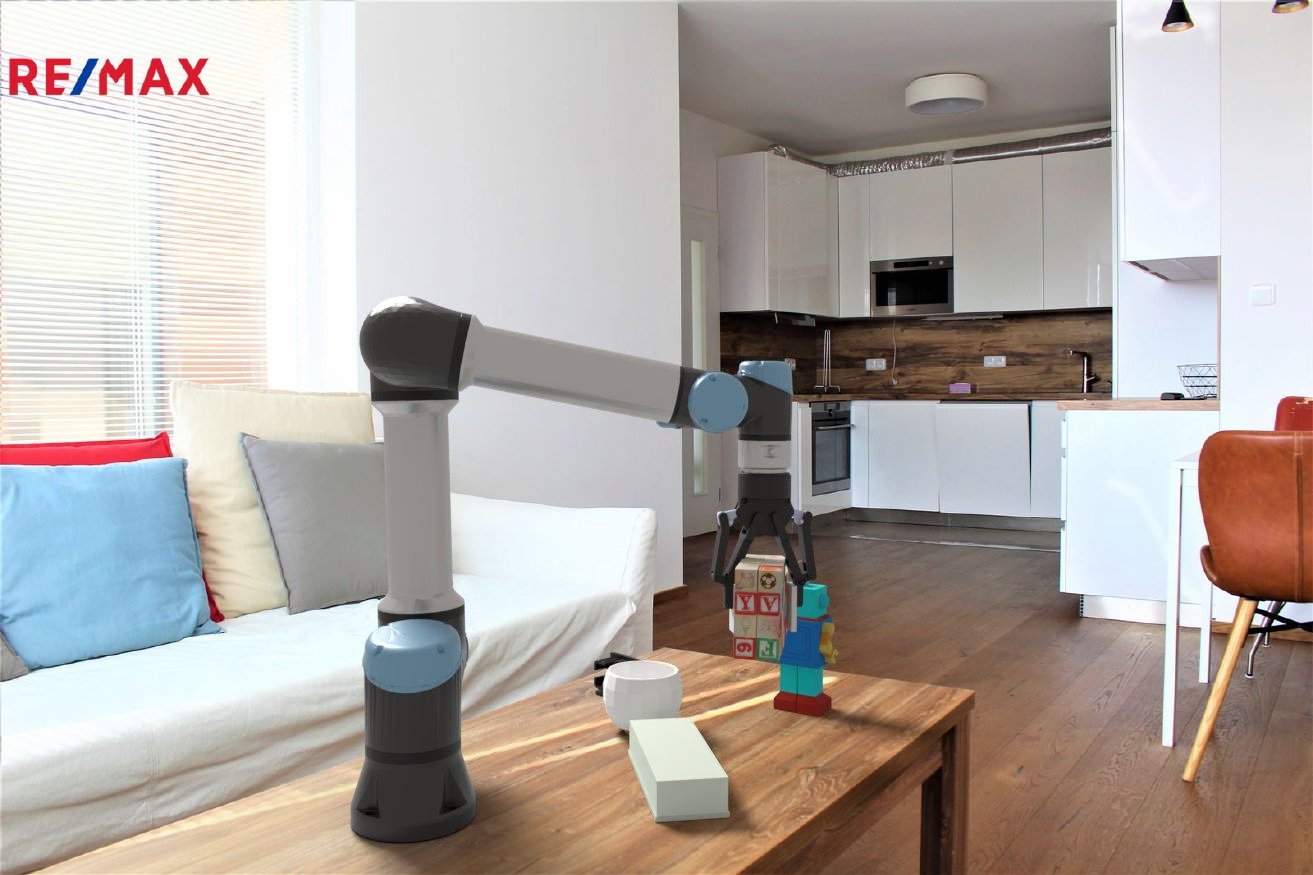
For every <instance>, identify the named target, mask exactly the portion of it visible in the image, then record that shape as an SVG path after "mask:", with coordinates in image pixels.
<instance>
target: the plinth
mask: <svg viewBox="0 0 1313 875" xmlns="http://www.w3.org/2000/svg"><path fill="white" fill-rule="evenodd" d="M628 735H629V744H628V745H629V747H628V748H629V749H627V756H628V757H629V761H630V762H631V766H632V768H633V770H634V773H635V775H636V778H637V781H638V783H639V785H640V788H641V791H642V793H643V795H644V797H645V800H646V802H647V805H648V807H649V811H650V813H651V815H652V817H653V821H654V822H655V823H664V822H665V823H666V822H667V823H668V822H679V821H681V822H682V821H694V820H695V821H696V820H711V819H722V818H723V819H725V818H727V819H728V818H730V817H731V812H730V810H729V776H728V774H727V773H726V771H725V770H724V768H723V766H722V765H721V763H719V762H720V761H719V760H718V758H717V757H716V756H715V754H714V753H713V751H712V750H711V747H710V746H709V745H708V743H707V742H706V739H705V738H704V736H703V735H702V734H701V732H700V730H699V729H698V727H697V725H696V724H695V722H694V721H693V720H692V718H691V717H688V716H687V717H676V718H666V719H646V720H630V731H629V734H628Z"/></svg>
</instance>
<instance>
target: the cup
mask: <svg viewBox="0 0 1313 875" xmlns="http://www.w3.org/2000/svg"><path fill="white" fill-rule="evenodd" d="M605 674H606V675H605ZM605 674H604V675H605V679H604V682H603V697H602V699H603V704H604V706H605V710H606V713H607V716H608V718H609V719H610V721H611V722H612V723H613V726H615V727H617V728H618V729H621V730H624V733H625V734H627V735H629V731H630V720H646V719H666V718H678V717H677V716H678V715H679V711H680V709H681V705H682V702H683V681H682V677H681V673H680V669H679V668H678V667H676V665H673V664H671V663H667V662H663V661H656V660H643V661H628V662H622V663H617V664H615V665H612V666H610V667H609V668H608V670H607V669H606V672H605Z"/></svg>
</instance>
